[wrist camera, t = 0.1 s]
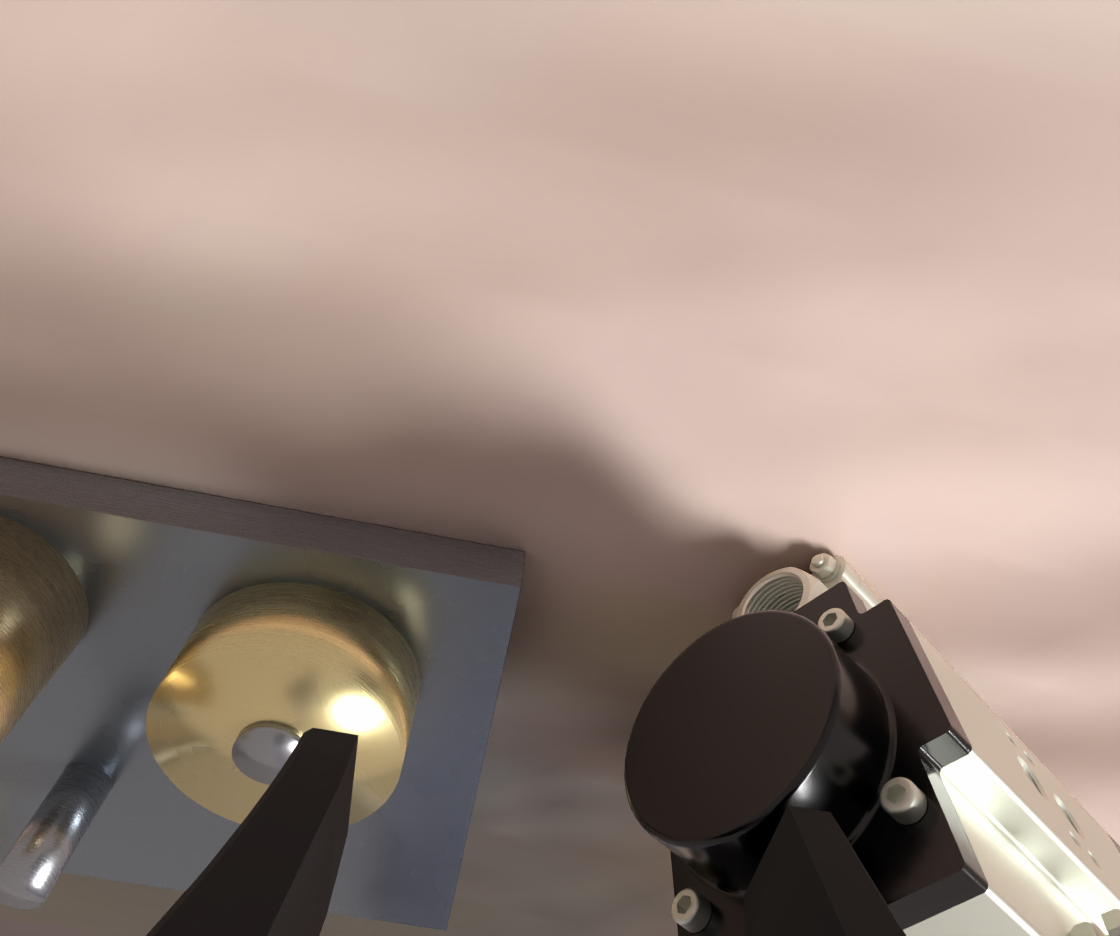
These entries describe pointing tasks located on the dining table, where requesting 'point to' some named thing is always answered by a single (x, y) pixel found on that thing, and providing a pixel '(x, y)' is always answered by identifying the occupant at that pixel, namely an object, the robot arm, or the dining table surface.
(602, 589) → the dining table surface
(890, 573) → the dining table surface
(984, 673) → the dining table surface
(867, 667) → the pneumatic valve
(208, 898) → the robot arm
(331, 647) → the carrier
